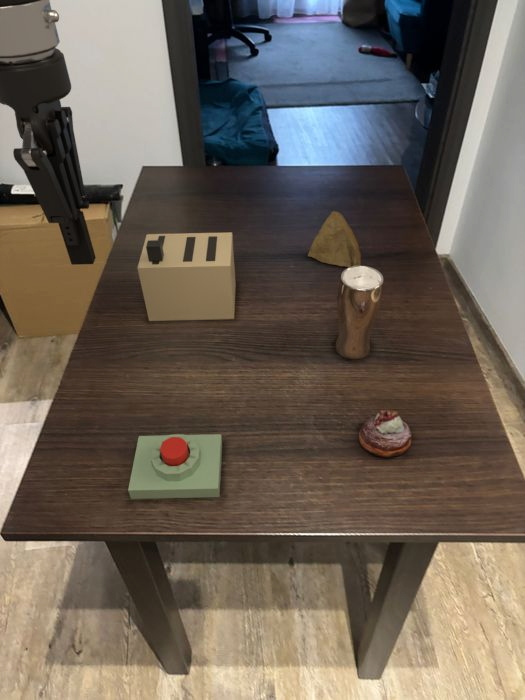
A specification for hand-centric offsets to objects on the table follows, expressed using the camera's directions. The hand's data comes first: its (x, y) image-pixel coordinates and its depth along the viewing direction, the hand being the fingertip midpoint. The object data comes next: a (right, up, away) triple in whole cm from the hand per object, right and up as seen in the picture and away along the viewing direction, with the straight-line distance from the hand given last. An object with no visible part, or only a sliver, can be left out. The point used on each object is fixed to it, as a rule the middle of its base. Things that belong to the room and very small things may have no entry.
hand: (83, 260), depth 66 cm
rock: (+38, +8, +46) cm, 60 cm away
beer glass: (+38, -11, +26) cm, 48 cm away
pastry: (+41, -25, +12) cm, 49 cm away
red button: (+11, -26, +6) cm, 28 cm away
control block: (+11, -28, +8) cm, 31 cm away
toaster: (+9, -2, +36) cm, 37 cm away
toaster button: (+4, +5, +26) cm, 26 cm away
